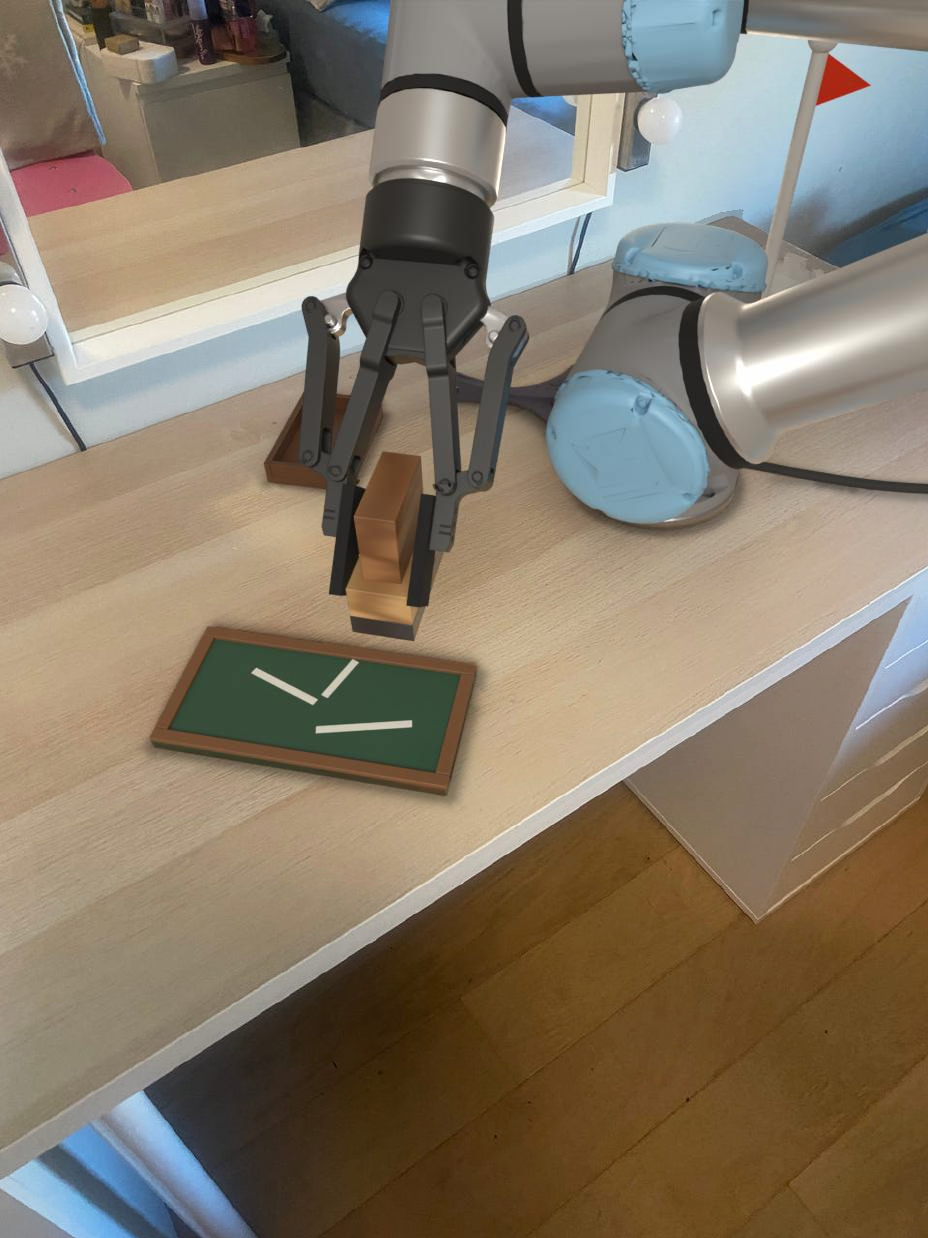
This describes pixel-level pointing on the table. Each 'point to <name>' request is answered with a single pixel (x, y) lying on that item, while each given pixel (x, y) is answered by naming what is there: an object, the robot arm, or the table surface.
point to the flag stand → (820, 87)
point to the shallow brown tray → (285, 451)
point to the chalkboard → (320, 709)
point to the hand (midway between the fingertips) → (379, 599)
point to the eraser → (387, 550)
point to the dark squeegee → (516, 393)
